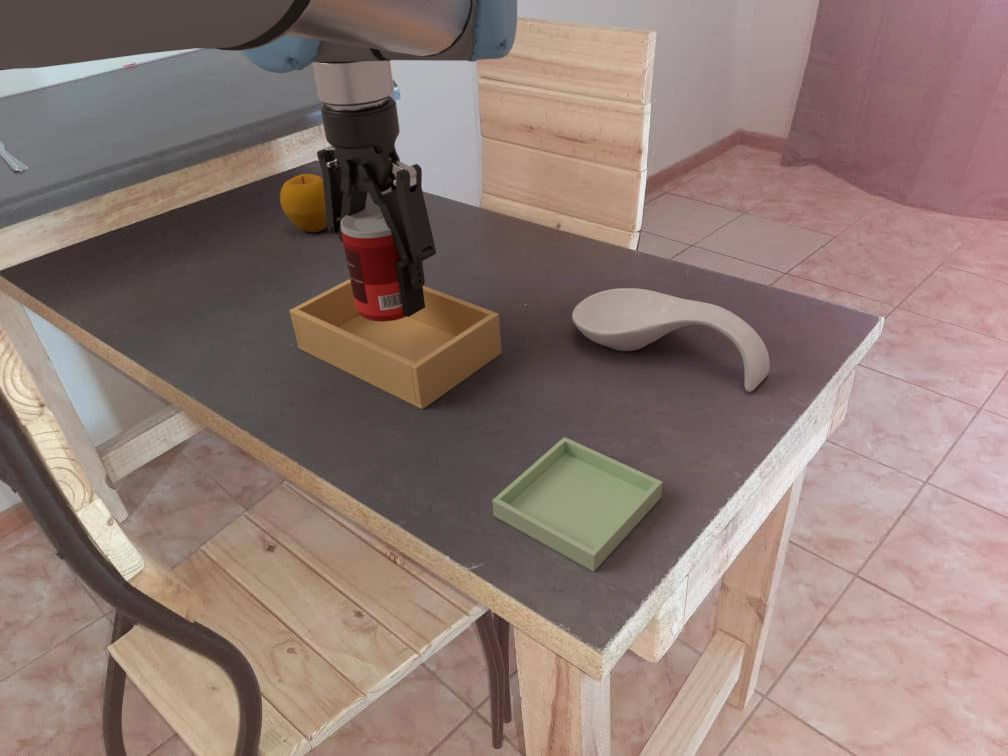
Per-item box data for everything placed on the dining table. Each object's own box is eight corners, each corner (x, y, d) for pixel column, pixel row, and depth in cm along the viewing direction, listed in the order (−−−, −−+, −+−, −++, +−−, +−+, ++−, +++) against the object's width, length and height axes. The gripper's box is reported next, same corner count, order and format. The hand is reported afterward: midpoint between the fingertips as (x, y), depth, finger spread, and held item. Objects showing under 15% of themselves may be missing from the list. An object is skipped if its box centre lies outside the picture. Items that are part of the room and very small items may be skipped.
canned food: (436, 298, 92) (426, 210, 85) (394, 329, 86) (379, 237, 80) (386, 285, 95) (373, 199, 89) (342, 314, 90) (325, 225, 84)
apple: (288, 221, 130) (277, 170, 125) (340, 215, 131) (330, 163, 126) (286, 242, 123) (273, 189, 118) (340, 235, 124) (329, 182, 119)
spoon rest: (553, 344, 94) (552, 292, 90) (606, 303, 101) (607, 253, 97) (738, 412, 81) (746, 354, 77) (783, 359, 88) (793, 305, 84)
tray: (593, 572, 65) (594, 555, 63) (493, 516, 71) (491, 500, 69) (661, 497, 71) (662, 481, 70) (564, 452, 77) (564, 436, 76)
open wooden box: (501, 353, 93) (499, 313, 90) (422, 409, 84) (416, 368, 81) (379, 303, 105) (372, 266, 101) (298, 348, 96) (288, 310, 93)
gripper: (458, 104, 74) (476, 312, 87) (321, 80, 85) (355, 267, 98) (402, 124, 69) (430, 341, 82) (265, 96, 81) (308, 290, 94)
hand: (389, 301), depth 90 cm, fingers closed on canned food, 8 cm apart
